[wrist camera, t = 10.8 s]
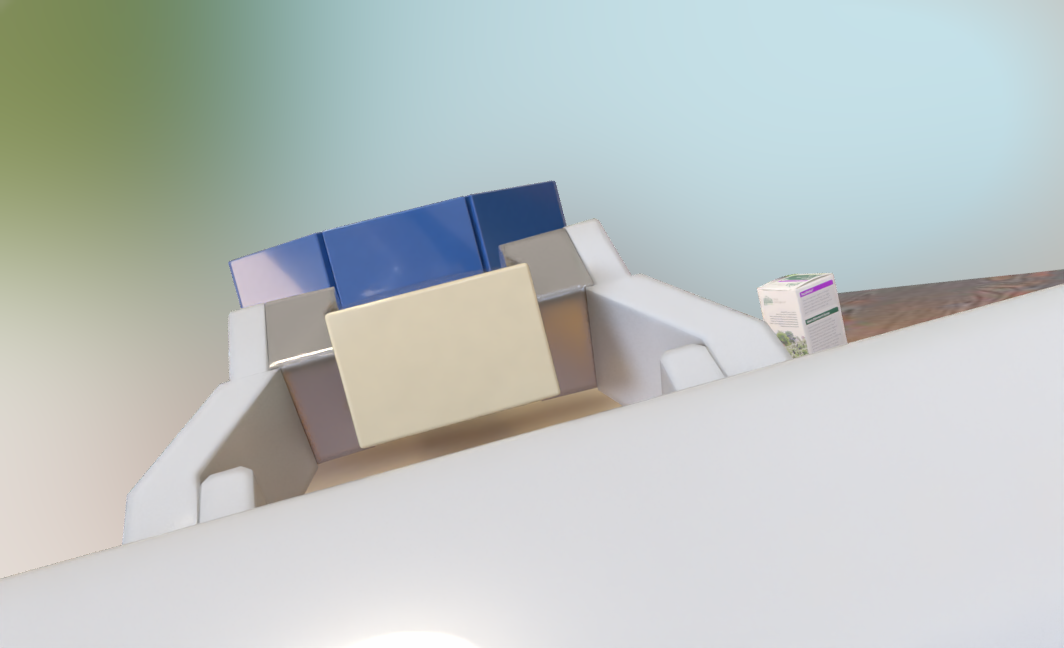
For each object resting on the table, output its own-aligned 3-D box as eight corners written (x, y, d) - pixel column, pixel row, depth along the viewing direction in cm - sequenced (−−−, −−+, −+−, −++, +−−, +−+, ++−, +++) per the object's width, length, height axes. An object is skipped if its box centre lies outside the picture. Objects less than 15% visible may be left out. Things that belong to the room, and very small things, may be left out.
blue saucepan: (294, 384, 41) (261, 265, 40) (556, 314, 42) (527, 199, 42) (-6, 663, 11) (-142, 219, 11) (931, 394, 12) (839, -12, 12)
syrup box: (863, 406, 102) (836, 270, 100) (822, 426, 99) (794, 286, 97) (821, 401, 107) (795, 271, 105) (782, 420, 104) (754, 286, 102)
